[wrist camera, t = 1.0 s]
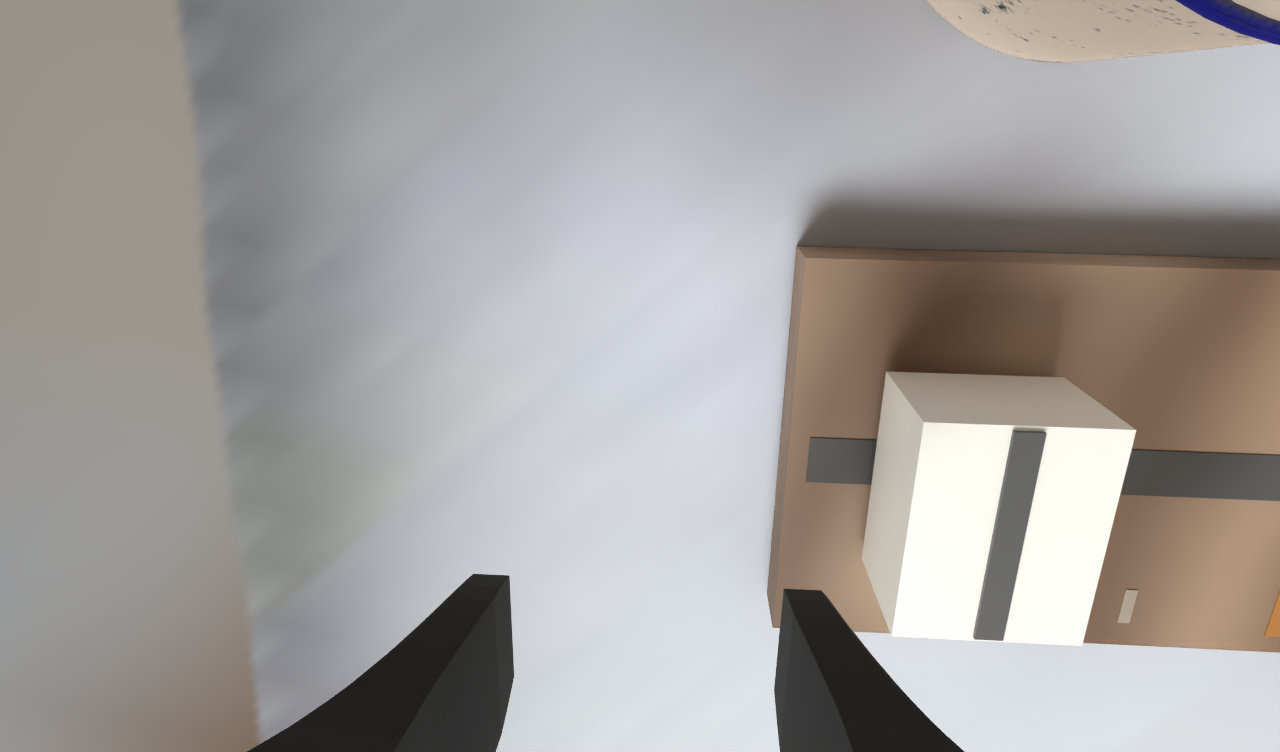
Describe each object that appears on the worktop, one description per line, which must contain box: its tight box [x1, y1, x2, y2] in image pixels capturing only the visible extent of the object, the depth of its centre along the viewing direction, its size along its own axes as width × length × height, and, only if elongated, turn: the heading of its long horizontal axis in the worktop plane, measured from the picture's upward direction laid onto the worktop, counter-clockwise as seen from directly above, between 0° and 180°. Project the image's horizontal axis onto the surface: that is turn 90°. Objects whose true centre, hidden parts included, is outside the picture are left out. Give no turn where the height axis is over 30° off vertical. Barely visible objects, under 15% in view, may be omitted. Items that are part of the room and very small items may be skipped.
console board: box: [767, 246, 1280, 652], centre depth 19 cm, size 18×10×2 cm, turn 89°
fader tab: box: [862, 371, 1136, 646], centre depth 17 cm, size 4×5×3 cm
